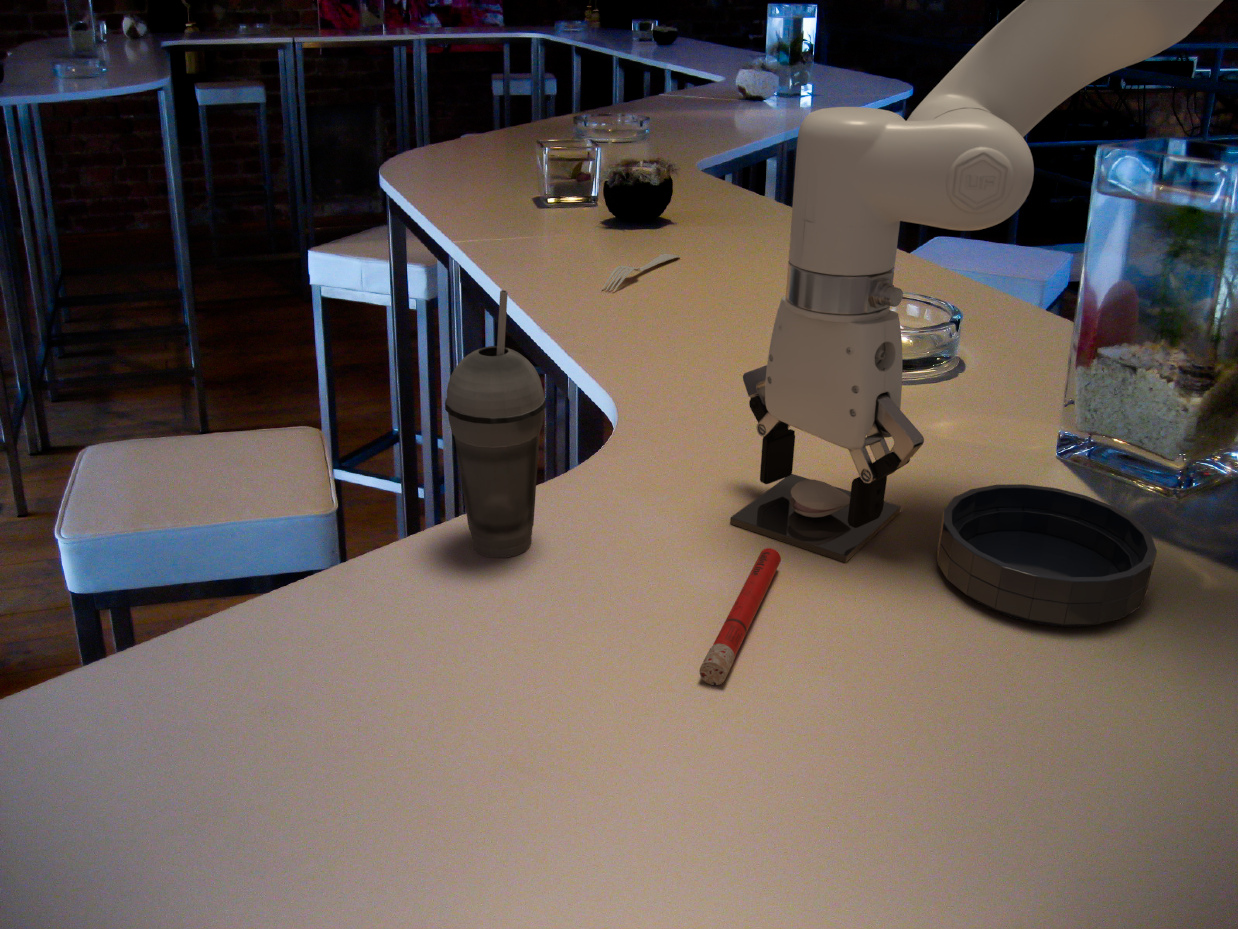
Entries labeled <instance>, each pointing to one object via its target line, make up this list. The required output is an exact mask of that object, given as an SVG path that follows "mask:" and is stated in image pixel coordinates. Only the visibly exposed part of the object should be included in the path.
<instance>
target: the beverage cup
mask: <svg viewBox="0 0 1238 929" xmlns="http://www.w3.org/2000/svg"><path fill="white" fill-rule="evenodd" d="M508 292H509V291H508V290H505V289H501V290H500V292H499V305H498V324H497V342H496V345H490V346H489V345H488V346H484V347H481V348H478V349H477V348H476V349H475V350H473V351H472V352H470V353H468V354H467V355H465V356H464V357H463V358H462V359H461V360H460V362H458V364H457V365H456V367H455V368H454V369H453V371H452V372H451V375H450V377H449V379H448V383H447V388H446V397H445V401H444V410H445V411H446V413H447V417H448V418H447V419H448V423H449V426H450V430H451V434H452V435H453V437H454V443H455V449H456V454H457V461H458V462H457V463H458V469H459V474H460V480H461V487H462V488H461V489H462V494H463V499H464V500H463V501H464V507H465V513H466V521H467V525H468V527H467V528H468V530H469V534H470V538H471V544H472V548H473V550H474V551H475V552H476V553H478V554H480V555H481V556H483V557H484V556H485V557H488V558H493V559H503V558H505V559H506V558H511V557H515V556H519V555H521V554H523V553H525V552H526V551H527V550H529V548H530V547H531V546H532V536H533V527H534V524H535V508H536V493H537V477H538V465H539V464H538V462H539V447H540V446H539V445H540V432H541V431H542V427H543V422H544V416H545V408H546V406H547V400H546V396H545V394H544V389H543V385H542V381H541V377H540V375H539V373H538V371H537V370H536V368H535V366H534V365H533V364H532V363H531V362H530V361H529V359H527V358H526V357H525V356H524V355H522V354H521V353H520V352H518V351H516V350H514V349H512V348H509V347H506V330H507V328H506V327H507V311H508V295H509V294H508Z"/></svg>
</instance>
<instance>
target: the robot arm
mask: <svg viewBox="0 0 1238 929" xmlns="http://www.w3.org/2000/svg"><path fill="white" fill-rule="evenodd" d="M1223 1H1224V0H1024V1H1023V2H1021V4H1019V5H1018V6H1017V7H1016V8H1014V9H1013V10H1012V11H1011V12H1010V13H1008V14H1007V15H1006V16H1005V17H1004V18H1003V19H1001V21H1000V22H998V23H997V24H996V25H995V26H994V27H992V29H991V30H990V31H988V32H987V33H986V34H985V35H984V36H983V37H982V38H981V39H980V40H979V41H978V42H977V43H976V44H975V45H974V46H973V47H972V48H971V49H970V50H969V51H968V52H967V53H966V54H965V55H964V56H963V57H962V58H961V59H960V60H959V61H958V62H957V63H956V64H955V65H954V66H953V68H952V69H951V70H949V72H948V73H947V74H946V75H945V76H944V77H943V78H942V79H941V80H940V82H939V83H937V84H936V86H935V87H933V89H932V90H931V91H930V92H929V93H928V94H927V95H926V96H925V97H924V98H923V100H922V101H921V102H920V103H919V104H918V105H917V106H916V108H915V109H914V110H913V111H912V112H911V113H910V115H909V116H908V118H907V120H906V119H904V118H903V116H901V115H900V114H898V113H897V112H894V111H890V110H886V109H882V108H876V107H875V108H874V107H865V106H835V107H825V108H820V109H817V110H814V111H811V112H809V114H807V115H806V116H805V117H804V118H803V120H802V121H801V123H800V126H799V129H798V133H797V141H796V155H795V166H794V181H793V193H792V194H793V196H792V208H791V220H790V221H791V222H790V235H789V249H788V261H787V273H786V285H785V286H786V287H785V295H784V296H782V297H781V299H780V302H779V305H778V308H777V310H776V316H775V319H774V323H773V328H772V333H771V338H770V342H769V343H770V344H769V348H768V356H767V361H766V362H767V363H766V365H764V366H760V367H757V368H755V369H752V370H749V371H747V372H744V373H743V375H742V380H743V384H744V387H745V390H746V393H747V396H748V398H750V399H749V401H748V402H749V404H748V405H749V408H750V410H751V412H752V414H753V416H754V418H755V419H756V422H757V424H756V428H755V430H756V432H757V434H758V435H759V436H760V437H762V441H761V442H762V443H761V454H760V455H761V456H760V457H761V458H760V471H759V481H760V483H762V484H764V485H770V484H772V483H775V482H779V481H781V480H783V479H784V478H785V477H788V476H790V475H791V474H793V467H794V455H795V445H796V444H795V442H796V434H795V433H796V431H795V430H794V429H792V428H790V427H793V428H795V429H798V430H800V431H802V432H805V433H807V434H809V435H811V436H814V437H816V438H819V439H821V440H823V441H825V442H827V443H830V444H833V445H835V446H837V447H839V448H843V449H846V450H848V452H849V454H850V457H851V459H852V462H853V465H854V467H855V469H856V471H857V473H858V477H855V478H853V479H852V481H851V489H850V491H851V495H850V504H849V513H848V523H849V525H850V526H852V527H854V528H858V527H860V526H862V525H864V524H867V523H869V522H871V521H873V520H876V519H878V518H879V517H880V515H881V512H882V510H883V505H884V501H885V497H886V488H887V481H888V476H890V475H892V474H894V473H895V472H896V471H898V470H899V469H901V468H903V467H904V466H906V465H907V464H909V463H910V461H911V458H912V457H913V458H914V456H915V455H916V453H917V452H918V451H919V449H920V448H921V447H922V446H923V445H924V444H925V438H924V436H923V434H922V433H921V432H920V430H918V428H917V427H916V426H915V424H913V423H912V421H911V420H910V419H909V418H908V416H906V415H905V414H904V412H903V411H902V410H901V405H902V390H903V340H902V330H901V322H900V316H899V312H896V311H894V310H891V307H893V308H896V307H898V306H899V305H900V304H901V302H902V300H903V297H904V291H903V290H902V288H899V287H896V286H895V285H894V278H895V268H896V267H895V266H896V259H897V250H898V242H899V235H900V234H899V233H900V225H901V222H906V223H912V224H918V225H922V226H923V225H924V226H929V227H934V228H939V229H946V230H951V231H965V232H966V231H968V232H969V231H971V232H973V231H980V230H983V229H985V230H986V229H987V228H991V227H994V226H997V225H998V224H1001V223H1002V222H1004V221H1006V220H1008V219H1009V218H1010V217H1012V216H1013V215H1014V214H1015V213H1016V212H1017V211H1018V210H1019V209H1020V208H1021V207H1022V206H1023V205H1024V203H1025V202H1026V200H1027V197H1028V196H1029V195H1030V192H1031V190H1032V186H1033V182H1034V177H1035V176H1034V174H1035V166H1034V165H1035V164H1034V159H1033V155H1032V152H1031V149H1030V147H1029V145H1028V143H1027V142H1026V140H1025V138H1024V137H1025V136H1026V135H1027V134H1029V132H1030V131H1032V129H1033V128H1034V127H1035V126H1036V125H1038V124H1039V123H1040V122H1041V121H1042V120H1043V119H1044V118H1045V117H1047V115H1049V114H1050V113H1051V112H1052V111H1053V110H1054V109H1056V108H1057V107H1058V106H1060V105H1061V104H1062V103H1063V102H1065V101H1066V100H1068V98H1070V97H1071V96H1073V95H1074V94H1076V93H1077V92H1079V91H1080V90H1081V89H1083V88H1085V87H1086V86H1088V85H1090V84H1092V83H1093V82H1095V81H1096V80H1098V79H1100V78H1103V77H1104V76H1107V75H1109V74H1112V73H1114V72H1116V71H1119V70H1122V69H1124V68H1128V67H1130V66H1133V65H1135V64H1138V63H1140V62H1143V61H1145V60H1147V59H1150V58H1152V57H1154V56H1157V55H1158V54H1160V53H1161V52H1163V51H1165V50H1167V49H1169V48H1171V47H1172V46H1174V45H1176V44H1177V43H1179V42H1181V41H1182V40H1184V39H1185V38H1186V37H1188V35H1190V33H1192V32H1193V31H1194V30H1195V29H1196V28H1197V27H1198V26H1199V25H1200V24H1201V23H1202V22H1203V21H1204V20H1205V19H1206V18H1207V17H1208V16H1209V15H1210V14H1211V13H1212V12H1213V11H1214V10H1215V9H1216V8H1217V7H1218V6H1219V5H1220V4H1221V3H1222V2H1223ZM885 438H892V440H893V446H892V447H891V448H889V446H888V443H887V440H886V439H885ZM868 446H869V449H870V451H871V453H872V456H873V458H874V461H872V459H871V456H870V453H869V452H868V450H867V447H868Z"/></svg>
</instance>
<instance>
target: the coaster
mask: <svg viewBox="0 0 1238 929" xmlns="http://www.w3.org/2000/svg"><path fill="white" fill-rule="evenodd" d="M803 480H812V478H811V479H810V478H807V477H804V476H800V475H797V474H794V473H792V474H791V475H790V476H788V477H785V478H783V479H780V480H779V481H777V483H775V484H774V485H773V486H772V487H770V488H768V489H767V490H766V491H764V492H763V493H762V494H761V495H759V496H758V497H756V498H755V499H754V500H752V501H751V502H749V503H748V504H746V506H744V507H742V508H741V509H740V510H738V511H737V512H736V513H734V514H733V515H732V516H730V517H729V518H730V519H729V524H730V525H732V526H735V527H738V528H741V529H744V530H748V531H750V532H753V533H757V534H759V535H762V536H765V537H767V538H771V539H774V540H777V541H780V542H783V543H785V544H789V545H791V546H795V547H798V548H801V549H803V550H807V551H810V552H812V553H815V554H818V555H821V556H824V557H826V558H830V559H833V560H836V561H838V562H842V563H845V564H846V563H847V562H849V561H850V560H851V558H852V557H854V556H855V555H856V554H857V553H858V552H859V551H860V550H862V548H863V547H864V546H865V545H867V544H868V543H869V542H870V541H871V540H872V539H873V538H874V537H875V536H876V535H877V534H878V533H880V532H881V531H882V530H883V529H884V528H885V527H886V526H887V525H888V524H889V523H890V522H891V521H892V520H894V519H895V518H896V517H897V516H898V515H899V514H900V513H901V505H898V504H895V503H891V502H887V501H885V500H884V505H883V510H882V512H881V515H880V517H879V518H878V519H876V520H873V521H871V522H869V523H867V524H864V525H862V526H860V527H858V528H854V527H852V526H850V525H849V523H848V513H849V506H847V507H845V508H843V509H841V510H839V511H837V512H835V513H832V514H829V515H826V516H823V517H806V516H803V515H801V514H798V513H797V512H796V511H795V510H794V509H793V508H792V506H791V504H790V499H791V497H792V495H791V489H792V487H793V486H794V485H796V484H797V483H798V482H800V481H803ZM835 487H836V488H837V489H839V490H840V491H842V492H844V493H845V494H847V495H848V496H849V497H850V495H851V490H847V489H844V488H841V487H837V486H835Z"/></svg>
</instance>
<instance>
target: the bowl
mask: <svg viewBox="0 0 1238 929" xmlns="http://www.w3.org/2000/svg"><path fill="white" fill-rule="evenodd" d="M938 536H939V538H938V543H937V556H936V557H937V558H936V559H937V565H938V567H939V568H940V570H941V572H942V573H943V575H944V577H945V578H946V580H947V581H948V582H950V583H951V584H952V585H953V586H955V588H957V589H958V590H959V591H960V592H962V593H963V594H964V595H965V596H967V597H968V598H969V599H971V600H973V601H974V602H976V603H978V604H979V605H980V606H983V607H985V608H986V609H989V610H991V609H992V610H991V611H993V612H996V613H998V614H1001V613H1002V615H1004V614H1005V615H1004V616H1007V617H1009V616H1011V617H1010V618H1012V619H1016V618H1017V619H1016V620H1019V619H1020V621H1024V622H1027V623H1028V622H1029V623H1033V624H1037V623H1040V624H1039V625H1044V626H1052V627H1064V628H1065V627H1067V628H1068V627H1069V628H1071V627H1072V628H1075V627H1076V628H1077V627H1090V626H1097V625H1101V624H1106V623H1109V622H1112V621H1116V620H1120V619H1124V618H1125V617H1127V616H1128V615H1130V614H1132V613H1133V612H1135V611H1136V610H1138V609H1139V608H1140V607H1142V604H1143V602H1144V600H1145V598H1146V595H1147V592H1148V588H1149V585H1150V581H1151V578H1152V572H1153V568H1154V566H1155V562H1156V558H1157V553H1158V548H1157V547H1156V544H1155V540H1154V538H1153V535H1152V534H1151V532H1150V531H1148V530H1147V529H1146V528H1145V527H1144V526H1143V525H1142V524H1141V523H1140V522H1139V521H1138V520H1137V519H1136V518H1134V517H1133V516H1131V515H1130V514H1128V513H1125V512H1124V511H1122V510H1121V509H1119V508H1117V507H1116V506H1113V505H1111V504H1109V503H1106V502H1103V501H1101V500H1098V499H1095V498H1094V497H1091V496H1089V495H1085V494H1081V493H1077V492H1073V491H1070V490H1066V489H1062V488H1057V487H1050V486H1043V485H1034V484H1033V485H1032V484H1025V483H1023V484H1022V483H1021V484H1020V483H1016V484H1015V483H1014V484H1013V483H1011V484H993V485H987V486H982V487H981V486H980V487H975V488H971V489H969V490H967V491H964V492H961V493H960V494H958V495H955V496H953V497H952V499H951V500H950V501H949V502H948V504H947V505H946V506H945V507H944V508H943V511H942V516H941V524H940V530H939V535H938Z"/></svg>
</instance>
